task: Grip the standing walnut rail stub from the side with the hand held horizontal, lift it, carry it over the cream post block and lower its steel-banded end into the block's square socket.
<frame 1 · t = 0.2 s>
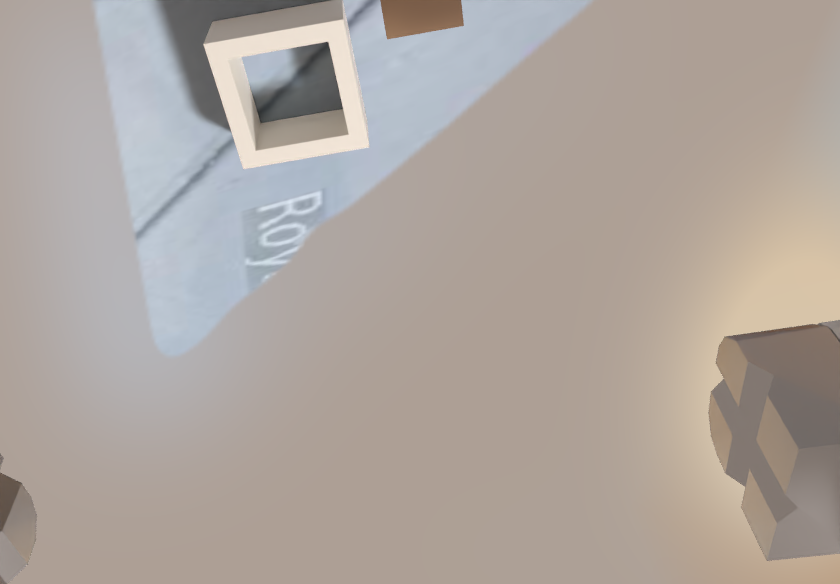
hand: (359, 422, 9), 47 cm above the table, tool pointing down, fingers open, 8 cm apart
socket block: (293, 73, 55), on the table
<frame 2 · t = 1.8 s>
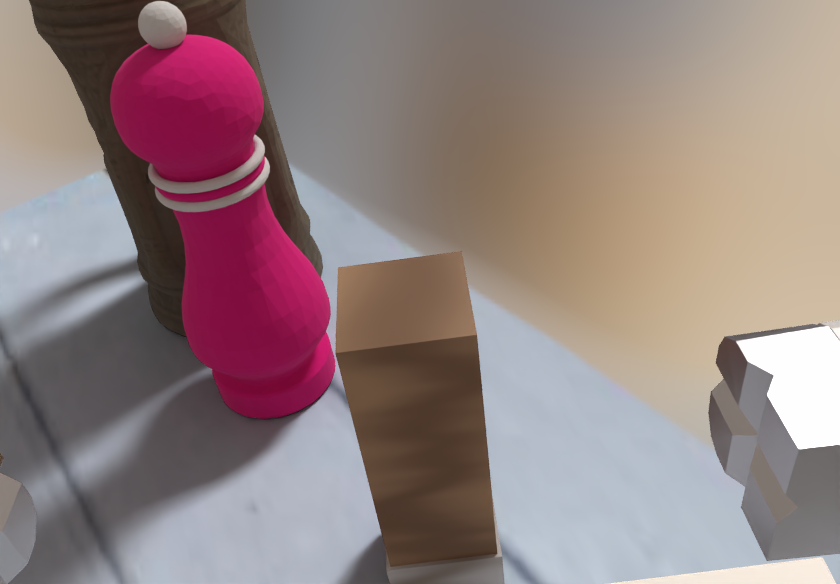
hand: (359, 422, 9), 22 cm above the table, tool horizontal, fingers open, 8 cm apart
rail: (446, 556, 32), on the table
pepper mill: (279, 378, 42), on the table
beer stein: (224, 269, 50), on the table
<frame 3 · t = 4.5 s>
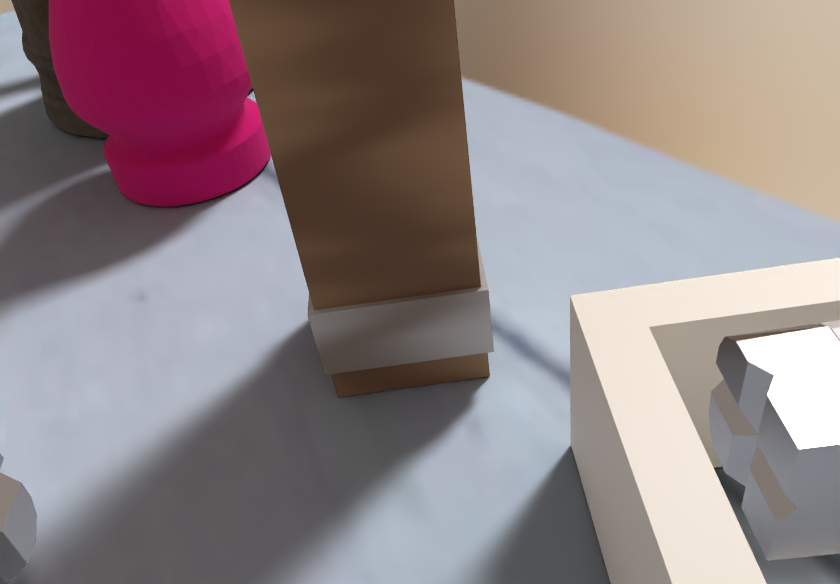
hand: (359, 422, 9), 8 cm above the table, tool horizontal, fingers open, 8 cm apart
rail: (409, 336, 22), on the table
pepper mill: (198, 170, 31), on the table
beer stein: (146, 79, 40), on the table
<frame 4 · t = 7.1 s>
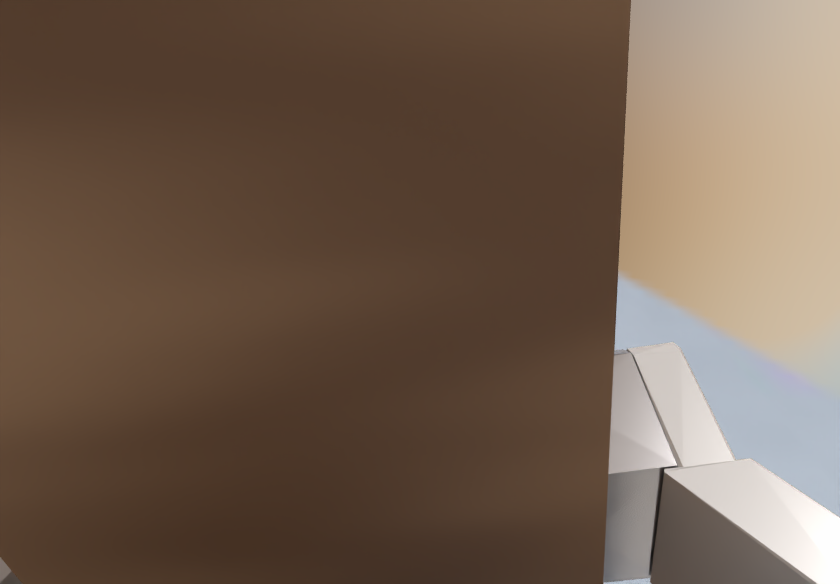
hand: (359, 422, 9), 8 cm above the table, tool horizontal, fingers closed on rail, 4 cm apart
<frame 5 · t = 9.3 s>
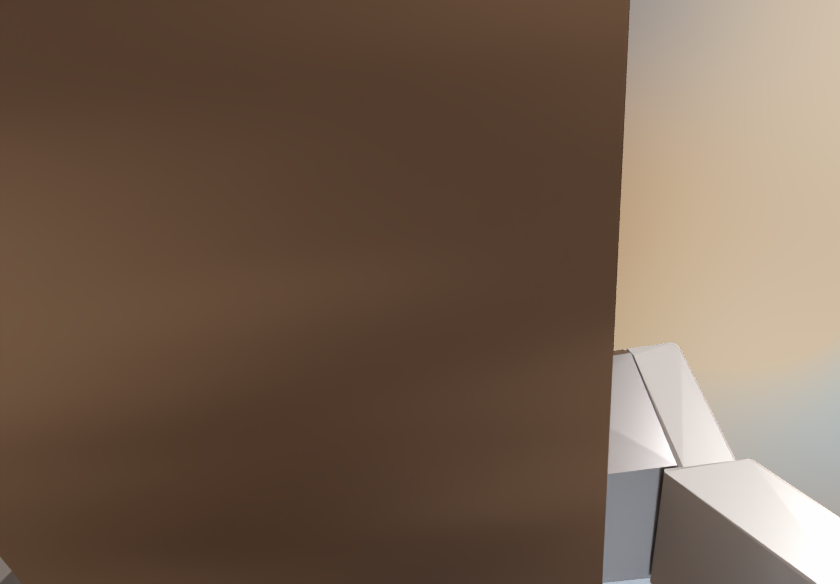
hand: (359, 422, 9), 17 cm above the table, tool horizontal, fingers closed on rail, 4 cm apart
when the fingers open (9 cm above the table, at t = 11.5 s): rail drops 1 cm, resting in socket block.
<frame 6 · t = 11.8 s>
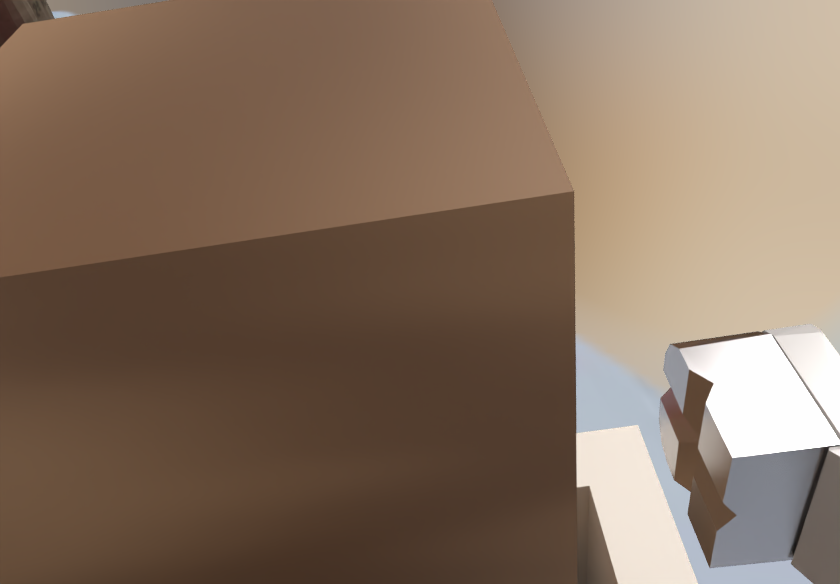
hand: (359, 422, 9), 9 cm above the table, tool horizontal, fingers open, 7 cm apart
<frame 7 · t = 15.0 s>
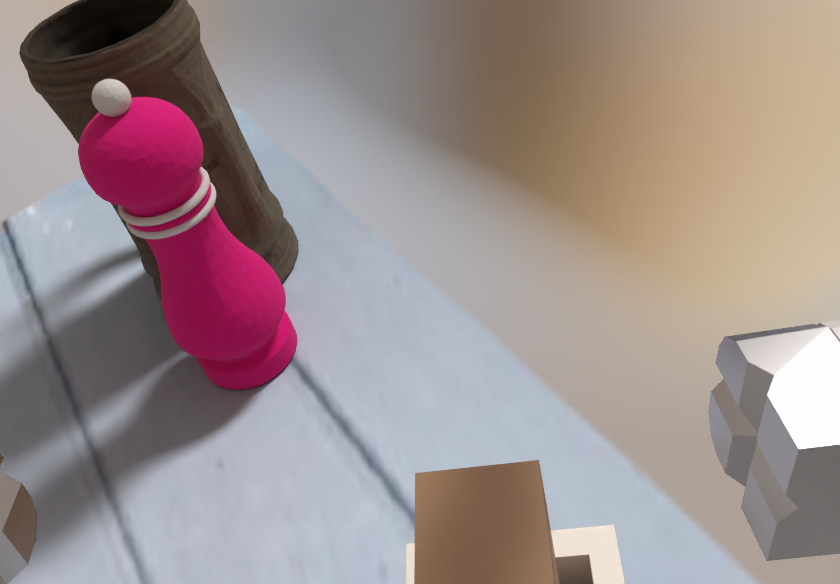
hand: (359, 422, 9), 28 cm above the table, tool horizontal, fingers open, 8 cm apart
pepper mill: (252, 354, 50), on the table
beer stein: (219, 252, 59), on the table
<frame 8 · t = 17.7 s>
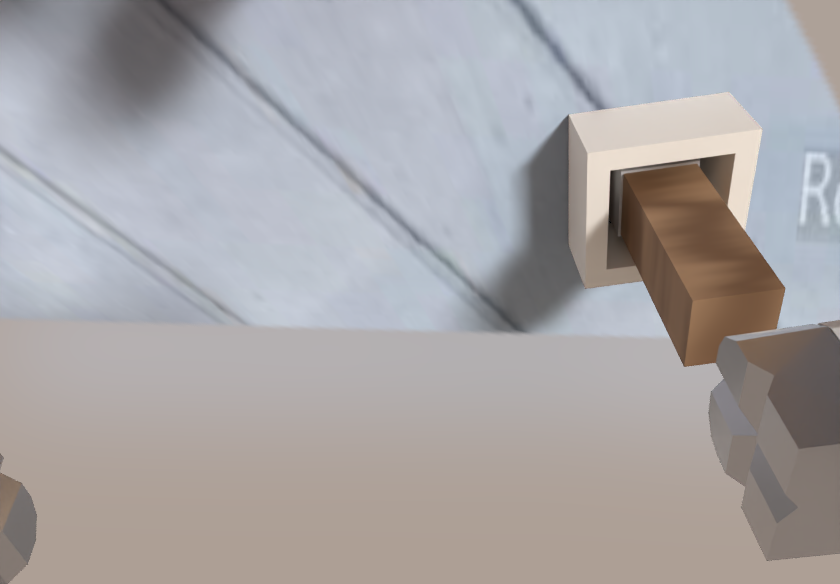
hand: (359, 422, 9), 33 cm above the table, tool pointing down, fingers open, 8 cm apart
rail: (642, 173, 46), resting in socket block
socket block: (643, 173, 45), on the table
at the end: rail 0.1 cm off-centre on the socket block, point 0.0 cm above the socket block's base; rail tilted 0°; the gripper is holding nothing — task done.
